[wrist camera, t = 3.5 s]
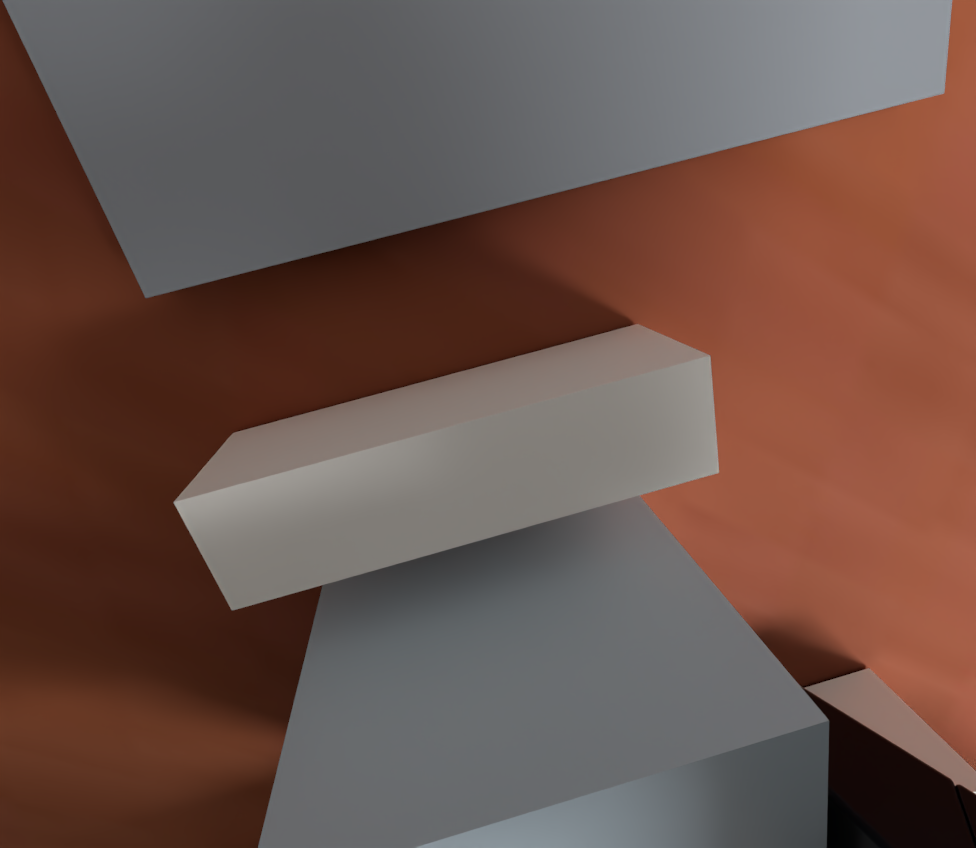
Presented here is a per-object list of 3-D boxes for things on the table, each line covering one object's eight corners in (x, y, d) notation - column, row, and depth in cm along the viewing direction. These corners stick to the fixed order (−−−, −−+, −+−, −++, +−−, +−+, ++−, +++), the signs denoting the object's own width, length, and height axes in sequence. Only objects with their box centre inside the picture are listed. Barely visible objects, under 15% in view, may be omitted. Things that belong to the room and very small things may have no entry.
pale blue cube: (415, 767, 10) (419, 1139, 6) (327, 563, 8) (244, 900, 4) (658, 694, 10) (823, 1005, 6) (626, 479, 9) (829, 720, 4)
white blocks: (302, 991, 12) (277, 1169, 10) (-53, 509, 7) (-271, 643, 5) (860, 815, 13) (959, 944, 11) (892, 254, 8) (1096, 268, 5)
